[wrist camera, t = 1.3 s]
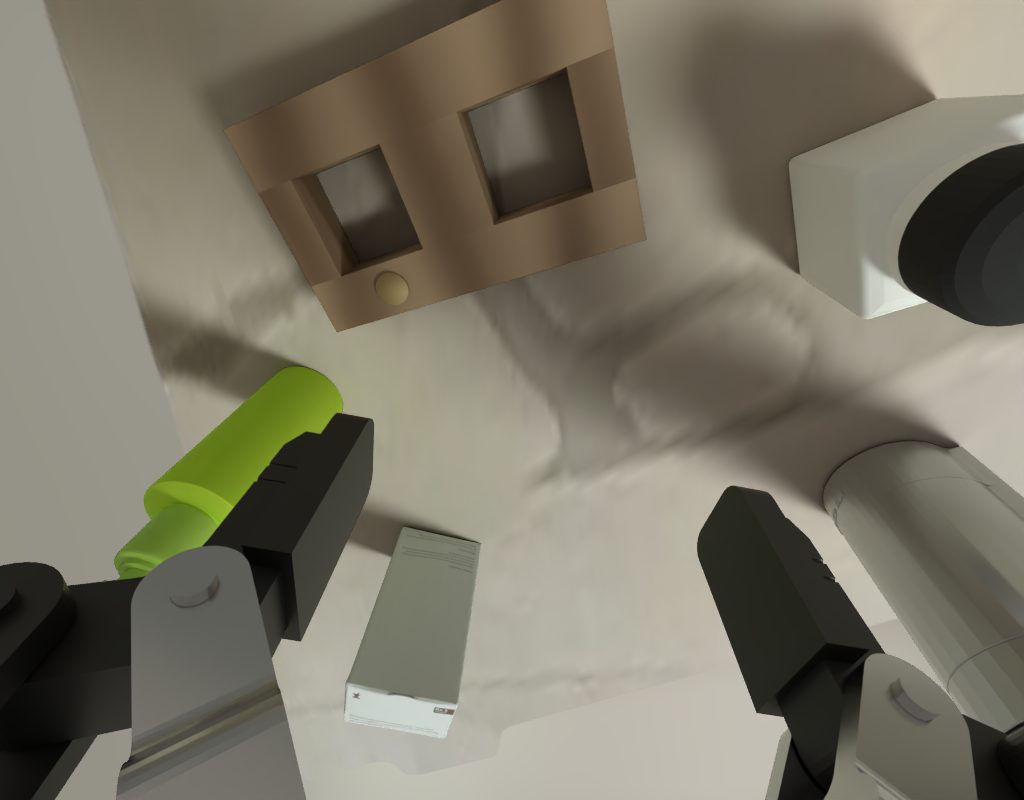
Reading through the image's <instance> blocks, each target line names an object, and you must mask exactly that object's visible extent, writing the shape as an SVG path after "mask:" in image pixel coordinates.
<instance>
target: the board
mask: <svg viewBox="0 0 1024 800" xmlns="http://www.w3.org/2000/svg"><path fill="white" fill-rule="evenodd" d="M565 72H566V74H567V78H568V83H569V88H570V92H571V97H572V101H573V106H574V111H575V115H576V120H577V124H578V129H579V134H580V138H581V143H582V147H583V152H584V157H585V161H586V166H587V170H588V175H589V180H590V184H591V185H588V186H585V187H583V188H580V189H577V190H574V191H571V192H568V193H565V194H562V195H559V196H556V197H553V198H550V199H547V200H544V201H541V202H538V203H535V204H532V205H530V206H527V207H524V208H521V209H518V210H515V211H512V212H509V213H506V214H503V215H500V213H499V210H498V206H497V203H496V200H495V197H494V194H493V191H492V188H491V185H490V181H489V178H488V175H487V172H486V169H485V166H484V163H483V160H482V156H481V153H480V150H479V147H478V144H477V141H476V138H475V135H474V132H473V128H472V125H471V122H470V119H469V116H468V113H467V112H469V111H472V110H474V109H477V108H479V107H481V106H484V105H486V104H489V103H491V102H494V101H496V100H499V99H501V98H504V97H506V96H508V95H511V94H513V93H516V92H518V91H521V90H523V89H526V88H528V87H530V86H533V85H535V84H538V83H540V82H543V81H545V80H548V79H550V78H553V77H555V76H557V75H560V74H562V73H565ZM223 131H224V133H225V135H226V137H227V138H228V140H229V142H230V144H231V145H232V147H233V149H234V151H235V153H236V154H237V156H238V158H239V160H240V161H241V163H242V165H243V167H244V168H245V170H246V172H247V174H248V176H249V177H250V179H251V181H252V183H253V184H254V186H255V188H256V190H257V192H258V193H259V195H260V197H261V199H262V200H263V202H264V204H265V206H266V207H267V209H268V211H269V213H270V215H271V216H272V218H273V220H274V222H275V223H276V225H277V227H278V229H279V231H280V232H281V234H282V236H283V238H284V239H285V241H286V243H287V245H288V246H289V248H290V250H291V252H292V254H293V255H294V257H295V259H296V261H297V262H298V264H299V266H300V268H301V269H302V271H303V273H304V275H305V277H306V278H307V280H308V282H309V284H310V285H311V287H312V289H313V291H314V293H315V294H316V296H317V298H318V300H319V301H320V303H321V305H322V307H323V308H324V310H325V312H326V314H327V316H328V317H329V319H330V321H331V323H332V324H333V326H334V328H335V330H336V332H340V331H343V330H346V329H350V328H353V327H356V326H360V325H363V324H366V323H370V322H373V321H376V320H380V319H383V318H386V317H390V316H393V315H396V314H400V313H403V312H407V311H410V310H413V309H417V308H420V307H423V306H427V305H430V304H433V303H437V302H440V301H443V300H447V299H450V298H453V297H457V296H460V295H463V294H467V293H470V292H473V291H477V290H480V289H483V288H487V287H490V286H493V285H497V284H500V283H503V282H507V281H510V280H513V279H517V278H520V277H523V276H527V275H530V274H533V273H537V272H540V271H543V270H547V269H550V268H553V267H557V266H560V265H563V264H567V263H570V262H573V261H577V260H580V259H583V258H587V257H590V256H593V255H597V254H600V253H603V252H607V251H610V250H613V249H617V248H620V247H623V246H627V245H630V244H634V243H637V242H640V241H644V240H646V234H645V228H644V222H643V216H642V211H641V205H640V199H639V193H638V187H637V181H636V175H635V169H634V163H633V157H632V152H631V146H630V140H629V134H628V128H627V122H626V116H625V110H624V104H623V98H622V93H621V87H620V81H619V75H618V69H617V63H616V57H615V51H614V45H613V39H612V33H611V28H610V22H609V16H608V10H607V4H606V0H501V1H499V2H497V3H495V4H493V5H490V6H488V7H486V8H484V9H482V10H480V11H478V12H475V13H473V14H471V15H469V16H467V17H465V18H463V19H460V20H458V21H456V22H454V23H452V24H450V25H448V26H445V27H443V28H441V29H439V30H437V31H435V32H432V33H430V34H428V35H426V36H424V37H422V38H420V39H417V40H415V41H413V42H411V43H409V44H407V45H405V46H402V47H400V48H398V49H396V50H394V51H392V52H390V53H387V54H385V55H383V56H381V57H379V58H377V59H374V60H372V61H370V62H368V63H366V64H364V65H362V66H359V67H357V68H355V69H353V70H351V71H349V72H347V73H344V74H342V75H340V76H338V77H336V78H334V79H332V80H329V81H327V82H325V83H323V84H321V85H319V86H316V87H314V88H312V89H310V90H308V91H306V92H304V93H301V94H299V95H297V96H295V97H293V98H291V99H289V100H286V101H284V102H282V103H280V104H278V105H276V106H274V107H271V108H269V109H267V110H265V111H263V112H261V113H258V114H256V115H254V116H252V117H250V118H248V119H246V120H243V121H241V122H239V123H237V124H235V125H233V126H231V127H228V128H226V129H224V130H223ZM379 148H381V149H382V152H383V154H384V156H385V159H386V161H387V164H388V166H389V168H390V171H391V173H392V176H393V178H394V180H395V183H396V185H397V188H398V190H399V192H400V195H401V197H402V200H403V202H404V204H405V207H406V209H407V212H408V214H409V216H410V219H411V221H412V224H413V226H414V228H415V231H416V233H417V236H418V238H419V240H420V243H418V244H415V245H412V246H409V247H406V248H403V249H400V250H397V251H394V252H391V253H388V254H385V255H382V256H379V257H376V258H373V259H370V260H368V261H365V262H362V263H360V262H359V260H358V258H357V256H356V254H355V252H354V250H353V248H352V246H351V244H350V242H349V240H348V238H347V236H346V234H345V232H344V230H343V228H342V226H341V224H340V222H339V220H338V218H337V216H336V214H335V212H334V210H333V208H332V206H331V204H330V202H329V200H328V198H327V195H326V193H325V191H324V189H323V187H322V185H321V183H320V181H319V179H318V177H317V175H316V174H317V173H320V172H322V171H325V170H327V169H330V168H332V167H334V166H337V165H339V164H342V163H344V162H347V161H349V160H352V159H354V158H356V157H359V156H361V155H364V154H366V153H369V152H371V151H374V150H376V149H379Z"/></svg>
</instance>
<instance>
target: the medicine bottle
mask: <svg viewBox="0 0 1024 800" xmlns="http://www.w3.org/2000/svg"><path fill="white" fill-rule="evenodd" d="M789 175H790V184H791V194H792V203H793V212H794V222H795V231H796V241H797V250H798V259H799V269H800V275H801V277H802V278H803V279H804V280H806V281H807V282H809V283H810V284H812V285H813V286H815V287H816V288H818V289H819V290H821V291H822V292H824V293H825V294H827V295H828V296H830V297H831V298H833V299H834V300H836V301H837V302H839V303H840V304H841V305H843V306H844V307H846V308H847V309H849V310H850V311H852V312H853V313H855V314H856V315H858V316H859V317H861V318H863V319H871V318H874V317H877V316H881V315H884V314H888V313H891V312H894V311H898V310H901V309H904V308H908V307H911V306H915V305H918V304H921V303H925V302H930V303H932V304H934V305H936V306H938V307H940V308H942V309H944V310H946V311H948V312H950V313H952V314H954V315H956V316H958V317H960V318H962V319H964V320H966V321H969V322H972V323H974V324H979V325H984V326H1011V325H1017V324H1022V323H1024V94H1022V95H1002V96H982V97H961V98H941V99H936V100H934V101H931V102H929V103H926V104H924V105H921V106H919V107H916V108H914V109H911V110H909V111H906V112H904V113H902V114H899V115H897V116H894V117H892V118H889V119H887V120H884V121H882V122H879V123H877V124H874V125H872V126H869V127H867V128H865V129H862V130H860V131H857V132H855V133H852V134H850V135H847V136H845V137H842V138H840V139H837V140H835V141H832V142H830V143H828V144H825V145H823V146H820V147H818V148H815V149H813V150H810V151H808V152H805V153H803V154H800V155H798V156H796V157H794V158H792V159H791V160H790V162H789Z"/></svg>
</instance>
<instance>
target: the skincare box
mask: <svg viewBox="0 0 1024 800" xmlns="http://www.w3.org/2000/svg"><path fill="white" fill-rule="evenodd" d="M480 551H481V544H479V543H475V542H470V541H465V540H461V539H456V538H452V537H447V536H443V535H439V534H434V533H430V532H425V531H421V530H416V529H412V528H408V527H403V528H402V530H401V532H400V535H399V538H398V541H397V544H396V546H395V549H394V552H393V555H392V558H391V561H390V563H389V566H388V569H387V572H386V575H385V578H384V580H383V583H382V586H381V589H380V591H379V594H378V597H377V600H376V603H375V605H374V608H373V611H372V614H371V617H370V619H369V622H368V625H367V628H366V631H365V633H364V636H363V639H362V642H361V645H360V647H359V650H358V653H357V656H356V658H355V661H354V664H353V667H352V669H351V672H350V675H349V677H348V679H347V681H346V689H345V706H344V721H346V722H352V723H357V724H363V725H370V726H377V727H383V728H388V729H394V730H400V731H405V732H411V733H416V734H422V735H427V736H432V737H437V738H441V739H445V736H446V733H447V731H448V728H449V725H450V723H451V720H452V718H453V716H454V713H455V711H456V708H457V706H458V703H459V697H460V689H461V682H462V675H463V668H464V661H465V654H466V648H467V641H468V634H469V627H470V620H471V613H472V606H473V599H474V592H475V585H476V578H477V572H478V565H479V558H480Z"/></svg>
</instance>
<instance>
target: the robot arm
mask: <svg viewBox="0 0 1024 800" xmlns="http://www.w3.org/2000/svg"><path fill="white" fill-rule="evenodd" d="M373 444H374V422H373V420H372V419H370V418H364V417H359V416H353V415H348V414H342V413H336V414H335V415H334V416H333V417H332V418H331V420H330V421H329V423H328V424H327V426H326V427H325V428H324V430H323V431H322V433H321V434H318V433H313V432H307V431H306V432H304V433H303V434H301V435H299V436H298V437H296V438H294V439H293V440H291V441H289V442H288V443H286V444H284V445H283V446H282V448H281V449H280V450H279V451H278V453H277V454H276V455H275V456H274V458H273V459H272V460H271V461H270V465H269V466H266V468H265V469H264V470H263V471H262V473H261V474H260V475H259V476H258V480H257V482H256V481H254V483H253V484H252V485H251V486H250V488H249V489H248V490H247V491H246V493H245V494H244V495H243V496H242V498H241V499H240V500H239V501H238V503H237V504H236V505H235V506H234V508H233V509H232V510H231V511H230V513H229V514H228V515H227V516H226V518H225V519H224V520H223V521H222V523H221V524H220V525H219V526H218V528H217V529H216V530H215V531H214V533H213V534H212V535H211V536H210V538H209V539H208V540H207V541H206V542H205V543H204V545H203V546H202V547H197V548H193V549H189V550H186V551H184V552H181V553H178V554H176V555H174V556H172V557H170V558H168V559H167V560H165V561H163V562H162V563H160V564H159V565H157V566H156V567H155V568H153V569H152V570H151V571H150V572H149V573H148V574H147V575H146V576H143V577H137V578H131V579H122V580H113V581H105V582H96V583H87V584H80V585H70V586H67V585H66V582H65V581H64V579H63V577H62V575H61V574H60V572H59V571H58V570H56V569H55V568H54V567H52V566H49V565H46V564H42V563H36V562H23V563H13V564H8V565H3V566H0V800H55V798H56V797H57V795H58V794H59V792H60V791H61V789H62V788H63V786H64V785H65V783H66V782H67V780H68V779H69V777H70V776H71V774H72V773H73V771H74V770H75V768H76V767H77V765H78V763H79V762H80V761H81V759H82V758H83V756H84V754H85V753H86V752H87V750H88V749H89V747H90V745H91V744H92V743H93V741H94V739H95V738H96V737H97V735H99V734H104V733H109V732H113V731H118V730H123V729H128V728H132V748H131V754H130V758H129V760H128V761H127V762H125V763H124V764H123V765H122V767H121V770H120V773H119V777H118V784H117V794H116V800H306V797H305V792H304V788H303V784H302V780H301V775H300V771H299V767H298V762H297V758H296V754H295V750H294V745H293V741H292V737H291V733H290V728H289V724H288V720H287V716H286V711H285V707H284V703H283V699H282V695H281V692H280V689H279V687H278V684H277V680H276V675H275V671H274V667H273V663H272V657H273V655H274V653H275V651H276V649H277V647H278V645H279V643H280V641H281V639H288V640H295V641H301V640H302V638H303V636H304V634H305V631H306V629H307V627H308V625H309V623H310V621H311V618H312V616H313V614H314V612H315V610H316V608H317V605H318V603H319V601H320V599H321V597H322V595H323V592H324V590H325V588H326V586H327V584H328V581H329V579H330V577H331V575H332V573H333V571H334V568H335V566H336V564H337V562H338V560H339V558H340V555H341V553H342V551H343V549H344V547H345V545H346V542H347V540H348V538H349V536H350V534H351V532H352V529H353V527H354V525H355V523H356V521H357V518H358V516H359V514H360V512H361V510H362V508H363V505H364V503H365V501H366V499H367V496H368V493H369V489H370V485H371V480H372V472H373ZM823 502H824V506H825V508H826V510H827V512H828V514H829V515H830V517H831V518H832V520H833V521H834V523H835V525H836V527H837V528H838V530H839V531H840V533H841V534H842V535H843V536H844V538H845V539H846V541H847V542H848V544H849V545H850V547H851V548H852V550H853V551H854V553H855V554H856V556H857V557H858V559H859V560H860V562H861V563H862V565H863V566H864V568H865V569H866V571H867V572H868V574H869V575H870V577H871V578H872V580H873V581H874V583H875V584H876V586H877V587H878V589H879V590H880V592H881V593H882V595H883V596H884V598H885V599H886V601H887V602H888V604H889V605H890V607H891V608H892V610H893V611H894V613H895V614H896V616H897V617H898V619H899V620H900V622H901V623H902V625H903V626H904V627H905V629H906V631H907V632H908V634H909V635H910V636H911V638H912V640H913V641H914V643H915V644H916V645H917V647H918V648H919V650H920V651H921V653H922V654H923V656H924V657H925V659H926V660H927V662H928V663H929V665H930V666H931V668H932V669H933V671H934V672H935V674H936V675H937V677H938V678H939V680H940V681H941V683H942V684H943V686H944V687H945V689H946V690H947V692H948V693H949V695H950V696H951V697H952V699H953V700H954V702H955V703H956V705H957V706H956V705H955V703H954V702H953V701H952V700H951V698H950V697H949V696H948V695H947V694H946V693H945V692H944V691H943V689H942V688H941V687H940V686H938V685H937V684H936V683H935V682H934V681H933V680H932V679H931V678H930V677H928V676H927V675H926V674H925V673H923V672H922V671H920V670H919V669H917V668H916V667H914V666H913V665H911V664H909V663H908V662H906V661H904V660H902V659H900V658H897V657H894V656H892V655H888V654H885V652H884V651H883V649H882V648H881V646H880V645H879V643H878V642H877V641H876V639H875V637H874V636H873V634H872V633H871V631H870V630H869V628H868V627H867V625H866V624H865V622H864V621H863V619H862V618H861V616H860V615H859V613H858V612H857V610H856V609H855V607H854V605H853V604H852V602H851V601H850V599H849V598H848V596H847V595H846V593H845V592H844V590H843V589H842V587H841V586H840V584H839V583H837V582H835V577H834V575H833V574H832V572H831V571H830V569H829V568H828V566H827V565H826V564H823V559H822V557H821V556H820V554H819V553H818V551H817V550H816V548H815V547H814V545H813V544H812V542H811V541H810V539H809V538H808V537H807V536H806V535H805V534H804V533H803V532H802V531H801V530H800V529H798V528H797V527H796V526H795V525H794V524H793V523H792V522H791V521H790V520H789V519H788V518H785V516H784V514H783V513H782V511H781V510H780V508H779V507H778V505H777V503H776V502H775V500H774V499H773V497H772V496H771V495H770V494H769V493H768V492H765V491H760V490H755V489H749V488H744V487H738V486H730V487H728V488H727V489H726V490H725V491H724V492H723V494H722V495H721V497H720V499H719V501H718V502H717V504H716V506H715V507H714V509H713V511H712V512H711V514H710V516H709V517H708V519H707V521H706V522H705V524H704V526H703V527H702V529H701V531H700V533H699V537H698V542H697V552H698V558H699V561H700V563H701V566H702V569H703V571H704V574H705V577H706V579H707V582H708V585H709V587H710V590H711V593H712V595H713V598H714V601H715V603H716V606H717V609H718V611H719V614H720V617H721V619H722V622H723V625H724V627H725V630H726V632H727V635H728V638H729V640H730V643H731V646H732V648H733V651H734V654H735V656H736V659H737V662H738V664H739V667H740V670H741V672H742V675H743V678H744V680H745V683H746V685H747V688H748V691H749V693H750V696H751V699H752V701H753V704H754V707H755V710H756V712H757V713H761V714H767V715H774V716H781V717H784V719H785V721H786V723H787V726H788V729H787V730H786V731H785V732H784V733H783V734H782V736H781V738H780V740H779V744H778V749H777V753H776V757H775V761H774V765H773V769H772V773H771V778H770V782H769V786H768V790H767V794H766V798H765V800H1024V498H1023V497H1022V496H1021V495H1020V494H1019V493H1017V492H1016V491H1015V490H1014V489H1013V488H1011V487H1010V486H1009V485H1008V484H1006V483H1005V482H1004V481H1003V480H1002V479H1000V478H999V477H998V476H997V475H996V474H994V473H993V472H992V471H991V470H990V469H988V468H987V467H986V466H985V465H984V464H982V463H981V462H980V461H979V460H977V459H976V458H975V457H974V456H973V455H971V454H970V453H969V452H968V451H967V450H965V449H964V448H963V447H956V448H942V447H939V446H936V445H934V444H931V443H925V442H919V441H902V442H896V443H889V444H885V445H882V446H878V447H875V448H872V449H869V450H867V451H865V452H863V453H860V454H858V455H857V456H855V457H853V458H852V459H850V460H849V461H847V462H846V463H844V464H843V465H842V466H841V467H840V468H839V469H837V470H836V471H835V473H834V474H833V475H832V476H831V477H830V479H829V480H828V482H827V484H826V486H825V488H824V493H823ZM957 707H958V708H959V709H958V708H957ZM960 711H961V712H960ZM961 713H962V714H961Z"/></svg>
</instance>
